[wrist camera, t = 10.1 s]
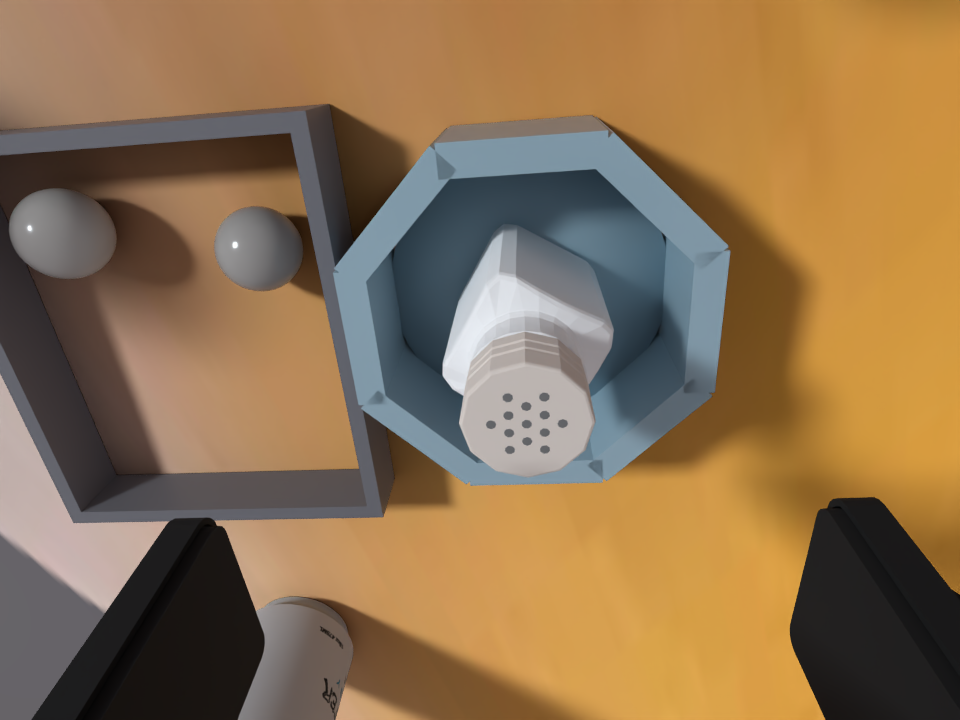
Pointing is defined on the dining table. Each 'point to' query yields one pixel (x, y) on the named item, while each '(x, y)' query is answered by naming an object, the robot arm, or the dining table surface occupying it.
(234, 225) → the pebble
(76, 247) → the pebble
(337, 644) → the energy drink can
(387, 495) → the parts tray
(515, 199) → the bowl
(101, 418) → the dining table surface
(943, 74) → the dining table surface
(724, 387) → the dining table surface
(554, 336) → the pepper shaker
